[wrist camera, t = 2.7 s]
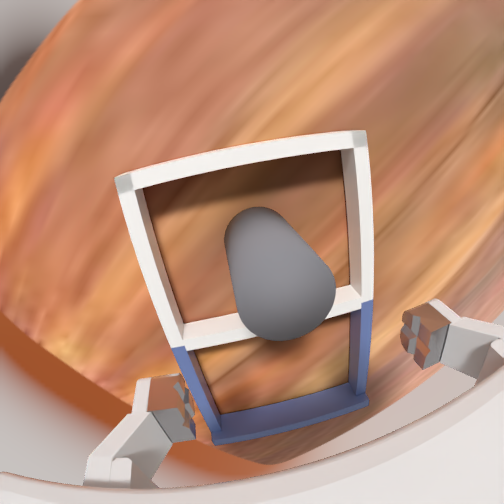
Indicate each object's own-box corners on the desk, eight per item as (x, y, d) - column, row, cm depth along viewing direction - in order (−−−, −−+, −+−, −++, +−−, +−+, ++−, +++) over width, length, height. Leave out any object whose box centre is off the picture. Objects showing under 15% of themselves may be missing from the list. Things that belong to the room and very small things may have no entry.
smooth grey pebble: (284, 200, 20) (333, 241, 12) (293, 261, 21) (337, 326, 14) (218, 214, 19) (226, 265, 12) (231, 275, 21) (247, 350, 14)
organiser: (351, 130, 18) (373, 131, 16) (356, 385, 28) (368, 405, 25) (123, 173, 17) (108, 180, 15) (212, 422, 27) (214, 445, 24)
